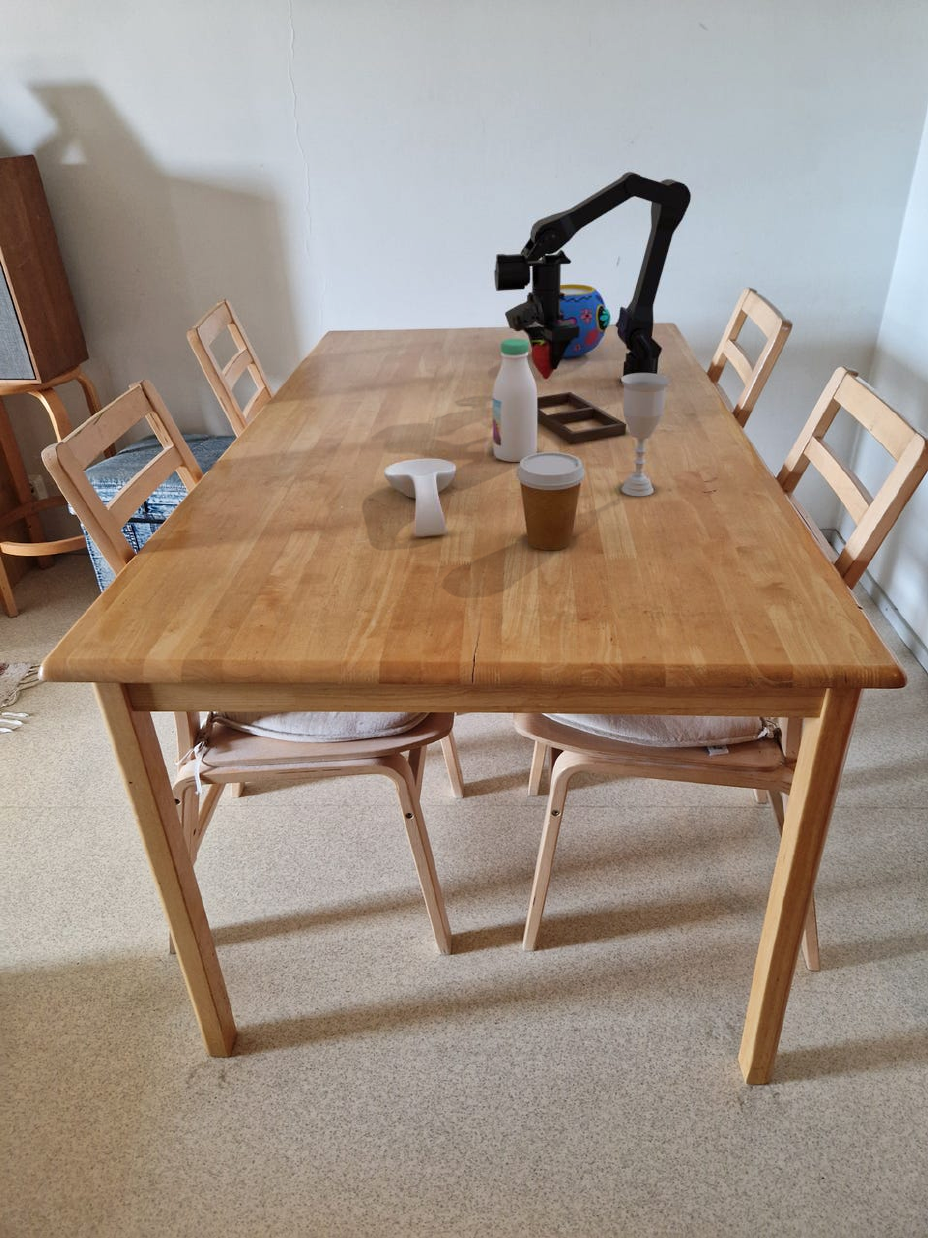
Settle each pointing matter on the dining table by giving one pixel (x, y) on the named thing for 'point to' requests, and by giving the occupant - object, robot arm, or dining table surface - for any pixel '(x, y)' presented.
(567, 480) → the disposable coffee cup
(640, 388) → the chalice
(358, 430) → the dining table surface
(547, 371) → the strawberry
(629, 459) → the dining table surface
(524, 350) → the milk bottle
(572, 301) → the ceramic pot
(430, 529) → the spoon rest
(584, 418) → the brown divided wooden frame
